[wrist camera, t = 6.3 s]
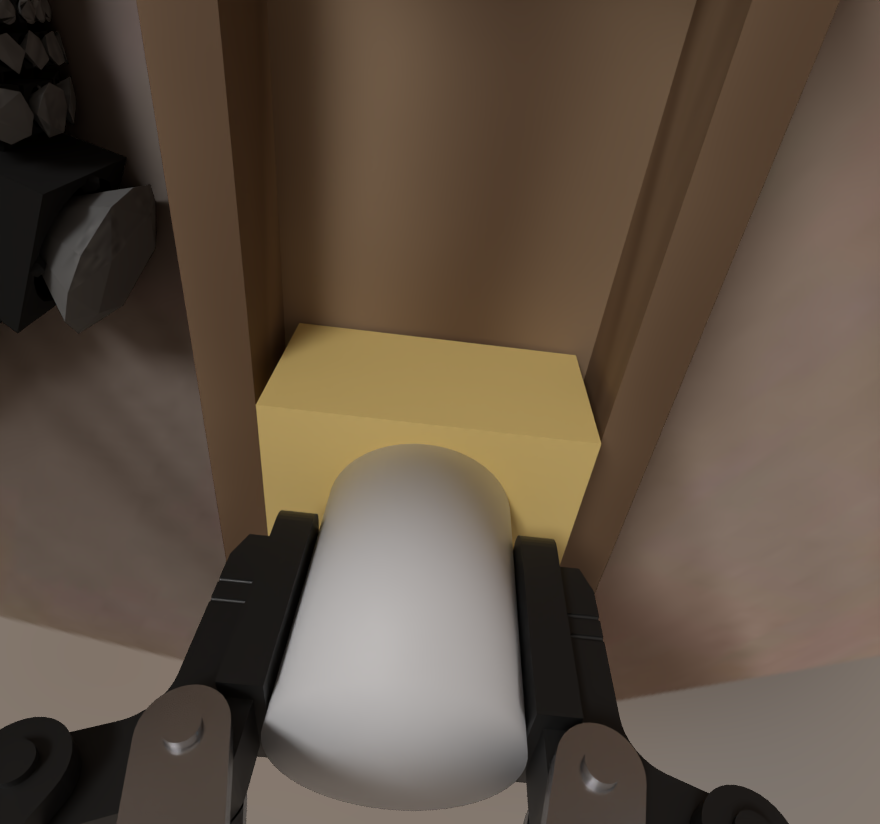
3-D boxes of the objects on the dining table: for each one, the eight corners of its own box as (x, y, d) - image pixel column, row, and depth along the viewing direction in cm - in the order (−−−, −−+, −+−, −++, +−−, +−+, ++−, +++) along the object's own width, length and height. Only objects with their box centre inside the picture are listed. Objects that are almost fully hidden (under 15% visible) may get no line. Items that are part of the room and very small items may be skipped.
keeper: (304, 475, 17) (190, 802, 10) (299, 323, 14) (134, 633, 7) (535, 501, 17) (576, 839, 10) (575, 355, 14) (671, 688, 7)
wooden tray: (275, 541, 21) (227, 670, 17) (187, -497, 8) (-82, -962, 4) (547, 570, 21) (565, 705, 17) (864, -395, 9) (1213, -745, 5)
